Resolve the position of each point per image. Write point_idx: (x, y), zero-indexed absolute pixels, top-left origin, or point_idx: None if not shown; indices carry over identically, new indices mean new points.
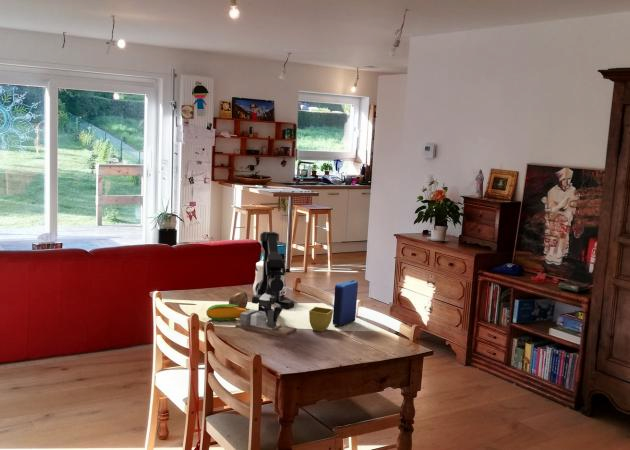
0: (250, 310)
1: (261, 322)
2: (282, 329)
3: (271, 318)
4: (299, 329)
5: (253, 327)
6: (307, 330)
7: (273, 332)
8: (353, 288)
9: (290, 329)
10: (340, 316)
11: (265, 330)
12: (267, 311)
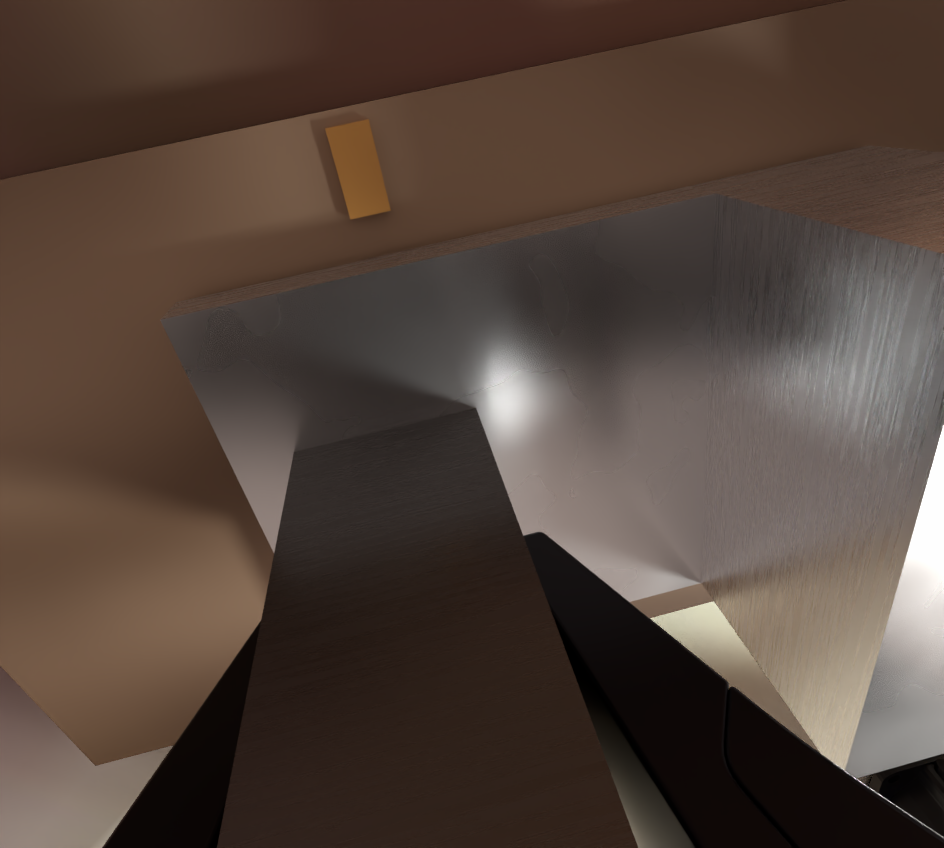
0: None
1: (714, 449)
2: (153, 563)
3: (345, 609)
4: (136, 780)
5: (741, 124)
6: (23, 831)
7: (7, 221)
8: None
9: (64, 671)
10: None
11: (319, 181)
12: (682, 837)
